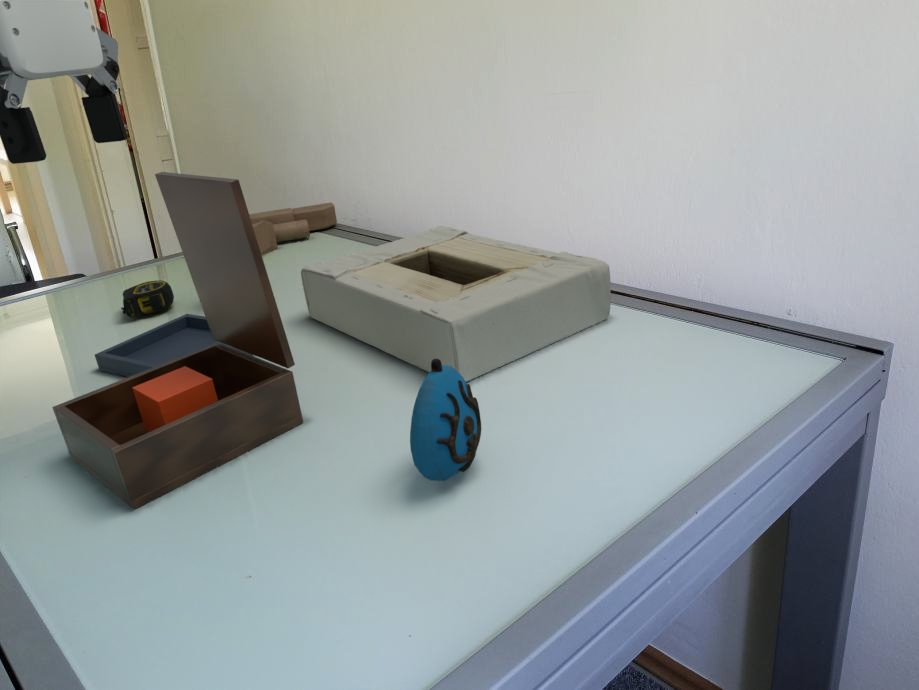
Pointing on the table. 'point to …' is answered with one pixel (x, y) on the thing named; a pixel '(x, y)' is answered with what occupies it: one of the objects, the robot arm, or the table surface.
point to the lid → (226, 263)
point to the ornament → (444, 424)
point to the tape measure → (147, 298)
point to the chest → (178, 424)
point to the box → (458, 298)
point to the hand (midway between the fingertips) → (73, 150)
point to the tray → (157, 346)
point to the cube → (173, 396)
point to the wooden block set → (290, 224)
